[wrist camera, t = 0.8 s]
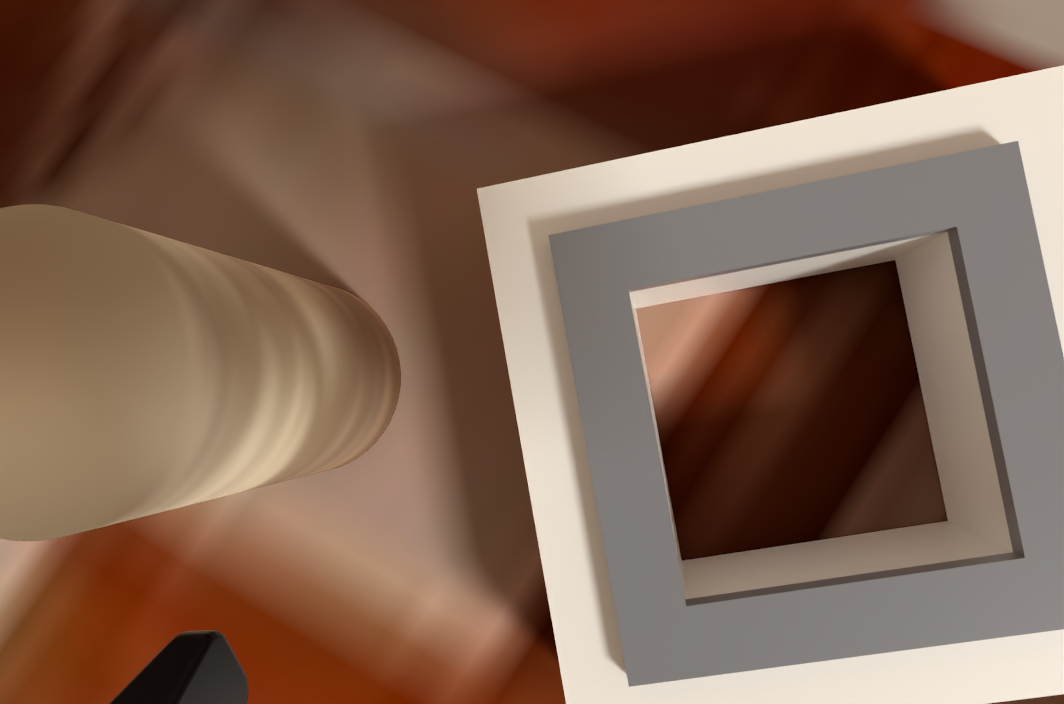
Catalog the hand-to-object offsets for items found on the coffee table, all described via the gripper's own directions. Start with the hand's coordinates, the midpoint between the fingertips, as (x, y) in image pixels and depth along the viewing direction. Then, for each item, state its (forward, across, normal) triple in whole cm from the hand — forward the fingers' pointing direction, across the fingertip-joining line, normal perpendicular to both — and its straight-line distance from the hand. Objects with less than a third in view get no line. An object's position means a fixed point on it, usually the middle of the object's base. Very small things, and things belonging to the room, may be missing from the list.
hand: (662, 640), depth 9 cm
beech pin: (+13, +9, +6) cm, 17 cm away
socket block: (+12, -3, +8) cm, 15 cm away
